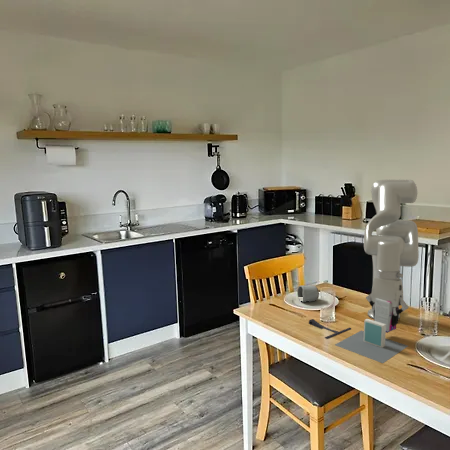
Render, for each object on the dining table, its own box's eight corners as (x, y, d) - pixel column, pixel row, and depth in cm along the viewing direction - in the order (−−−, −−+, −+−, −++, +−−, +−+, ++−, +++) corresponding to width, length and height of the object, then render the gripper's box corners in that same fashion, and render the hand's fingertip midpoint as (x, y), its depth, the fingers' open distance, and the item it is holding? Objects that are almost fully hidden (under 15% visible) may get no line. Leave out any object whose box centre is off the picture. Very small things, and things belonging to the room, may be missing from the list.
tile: (366, 339, 145) (367, 318, 144) (384, 346, 140) (385, 324, 139) (363, 341, 144) (364, 320, 143) (381, 347, 139) (382, 325, 137)
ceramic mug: (319, 302, 186) (320, 286, 185) (303, 304, 184) (303, 288, 183) (309, 295, 196) (309, 280, 195) (294, 297, 194) (294, 282, 193)
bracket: (321, 320, 167) (321, 314, 166) (351, 332, 155) (352, 325, 154) (297, 329, 158) (297, 323, 158) (327, 342, 146) (327, 335, 146)
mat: (361, 331, 153) (361, 330, 153) (408, 347, 140) (408, 345, 140) (334, 346, 142) (334, 344, 142) (382, 365, 128) (382, 363, 128)
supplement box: (388, 333, 142) (389, 302, 141) (373, 328, 147) (374, 298, 145) (397, 329, 146) (398, 299, 144) (382, 324, 150) (383, 294, 149)
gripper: (416, 277, 139) (414, 326, 142) (370, 268, 152) (368, 313, 155) (407, 281, 135) (404, 332, 137) (360, 271, 147) (358, 318, 150)
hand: (385, 321), depth 146 cm, fingers closed on supplement box, 6 cm apart
